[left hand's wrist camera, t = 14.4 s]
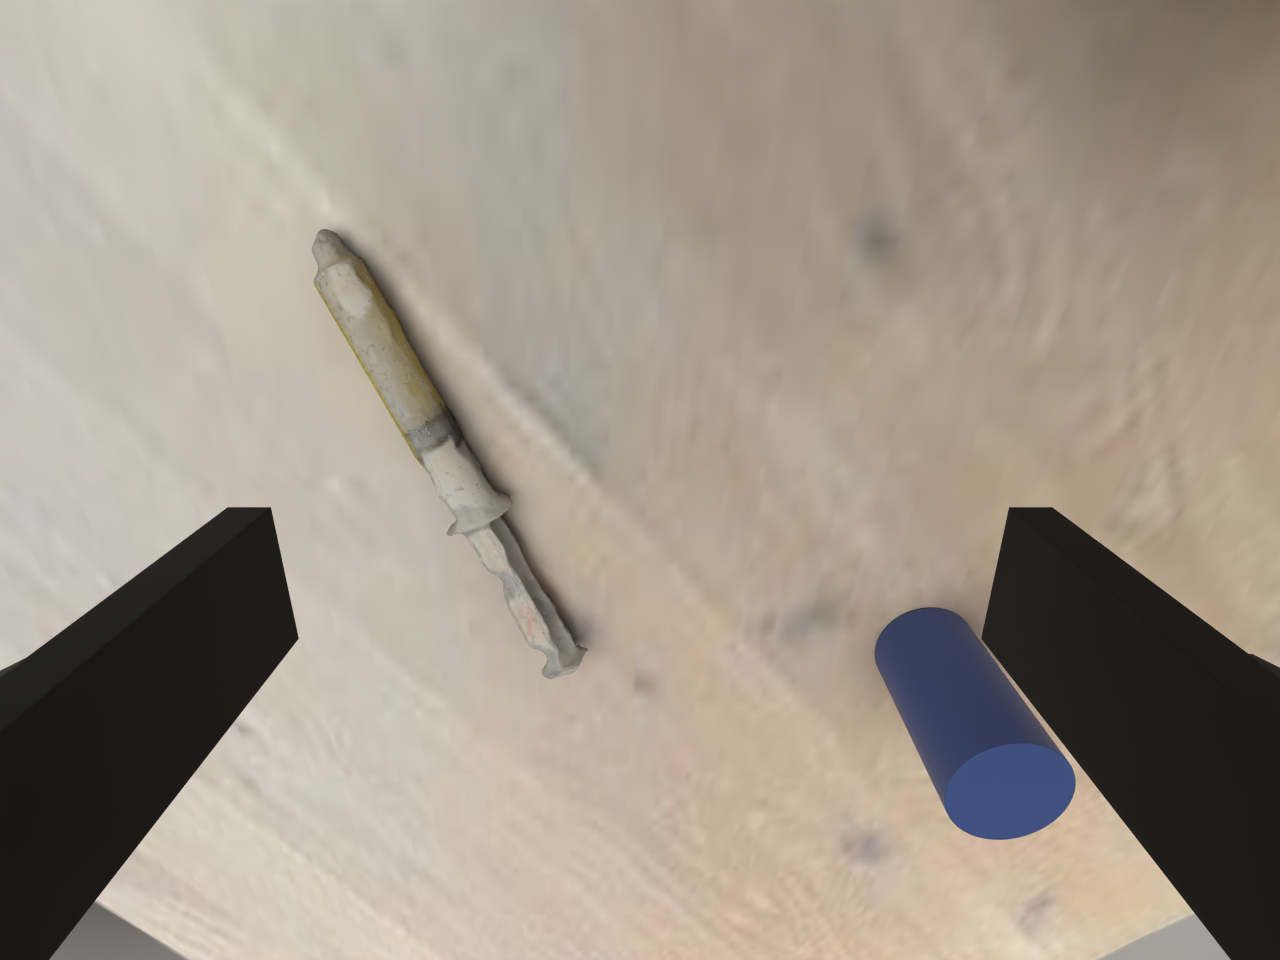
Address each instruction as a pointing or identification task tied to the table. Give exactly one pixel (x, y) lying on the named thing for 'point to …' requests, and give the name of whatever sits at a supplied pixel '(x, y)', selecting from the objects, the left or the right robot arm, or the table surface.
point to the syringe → (439, 445)
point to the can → (972, 728)
